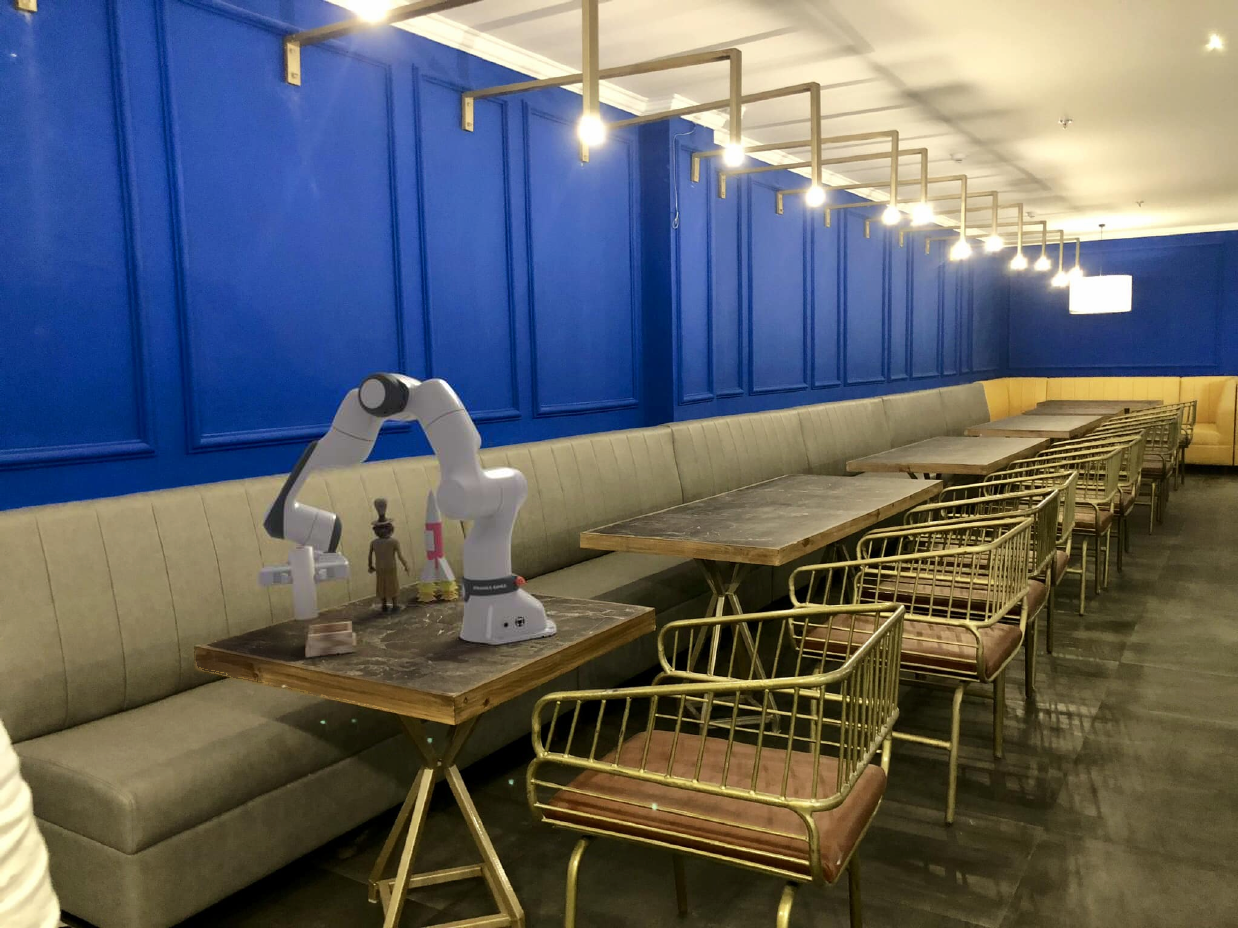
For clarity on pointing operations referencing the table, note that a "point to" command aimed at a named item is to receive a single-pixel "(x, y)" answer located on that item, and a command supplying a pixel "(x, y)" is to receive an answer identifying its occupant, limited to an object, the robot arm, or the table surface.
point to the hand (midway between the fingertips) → (303, 578)
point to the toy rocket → (435, 557)
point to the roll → (303, 582)
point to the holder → (330, 639)
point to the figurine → (386, 559)
